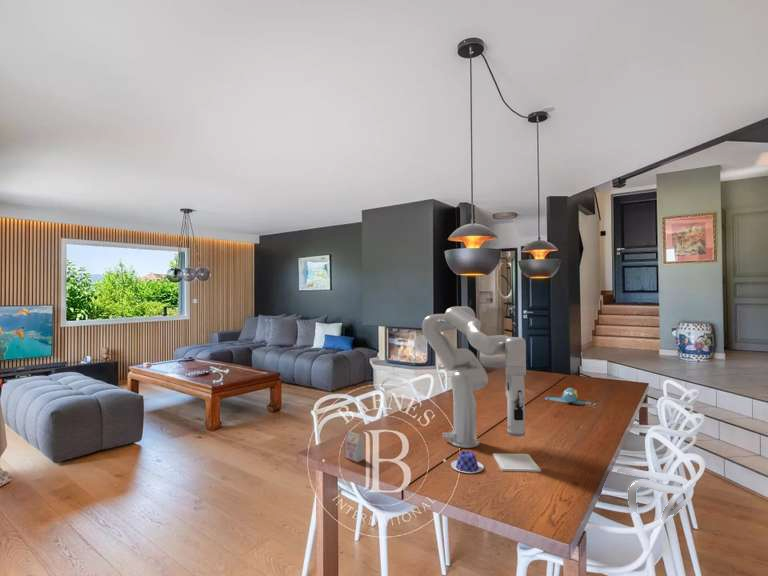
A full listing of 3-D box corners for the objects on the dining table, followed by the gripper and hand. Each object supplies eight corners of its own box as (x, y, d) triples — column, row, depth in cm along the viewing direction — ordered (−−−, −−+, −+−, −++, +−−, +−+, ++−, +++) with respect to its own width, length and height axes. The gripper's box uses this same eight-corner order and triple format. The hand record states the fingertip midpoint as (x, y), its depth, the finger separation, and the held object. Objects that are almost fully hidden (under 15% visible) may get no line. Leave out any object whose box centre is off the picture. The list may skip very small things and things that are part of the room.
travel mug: (506, 436, 151) (506, 382, 151) (508, 430, 157) (507, 379, 157) (524, 438, 149) (524, 383, 149) (525, 432, 155) (524, 380, 155)
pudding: (446, 462, 155) (446, 448, 155) (476, 460, 156) (476, 446, 157) (457, 476, 143) (457, 461, 143) (489, 473, 145) (489, 459, 145)
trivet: (501, 471, 146) (501, 468, 146) (492, 455, 160) (492, 453, 160) (540, 471, 146) (540, 469, 146) (528, 455, 160) (528, 453, 160)
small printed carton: (351, 454, 161) (351, 429, 161) (363, 459, 156) (363, 433, 156) (344, 457, 158) (344, 432, 158) (356, 462, 153) (356, 436, 154)
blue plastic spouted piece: (597, 388, 238) (595, 394, 225) (597, 403, 238) (595, 410, 225) (547, 382, 253) (542, 388, 240) (547, 396, 253) (542, 402, 240)
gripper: (499, 365, 162) (500, 410, 162) (512, 374, 145) (512, 424, 145) (518, 365, 162) (518, 410, 162) (533, 374, 145) (533, 424, 144)
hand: (515, 416), depth 153 cm, fingers closed on travel mug, 6 cm apart
